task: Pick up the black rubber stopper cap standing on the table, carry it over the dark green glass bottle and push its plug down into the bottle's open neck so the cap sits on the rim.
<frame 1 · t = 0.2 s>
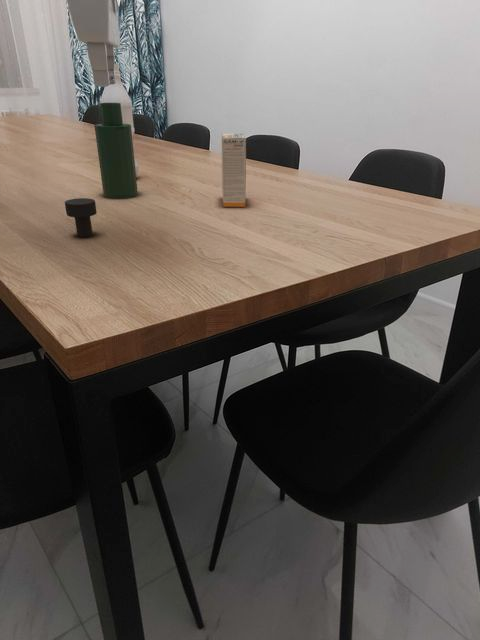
hand: (106, 85, 67), 22 cm above the table, tool pointing down, fingers open, 8 cm apart
supplement box: (234, 203, 105), on the table
stopper: (85, 235, 83), on the table
glass bottle: (120, 194, 109), on the table
water bottle: (124, 179, 126), on the table
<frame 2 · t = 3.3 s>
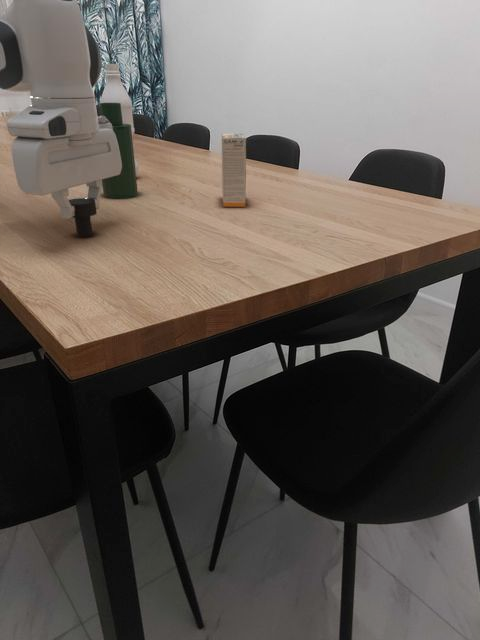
hand: (81, 213, 81), 4 cm above the table, tool pointing down, fingers closed on stopper, 4 cm apart
stopper: (85, 235, 83), on the table, touching gripper
everything else where it was.
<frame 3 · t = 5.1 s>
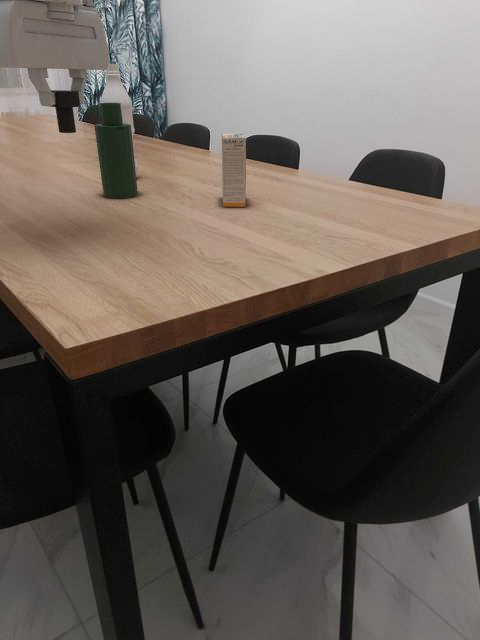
hand: (63, 105, 73), 19 cm above the table, tool pointing down, fingers closed on stopper, 4 cm apart
stopper: (67, 132, 75), point 16 cm above the table, touching gripper
everything else where it was.
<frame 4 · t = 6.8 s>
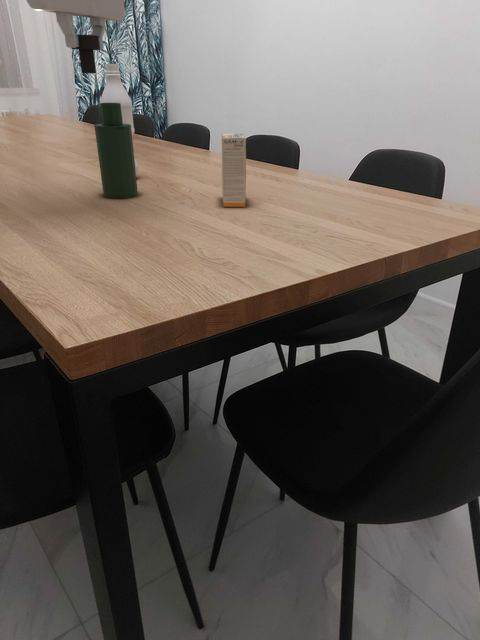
hand: (85, 48, 84), 27 cm above the table, tool pointing down, fingers closed on stopper, 4 cm apart
stopper: (88, 73, 86), point 23 cm above the table, touching gripper
everything else where it was.
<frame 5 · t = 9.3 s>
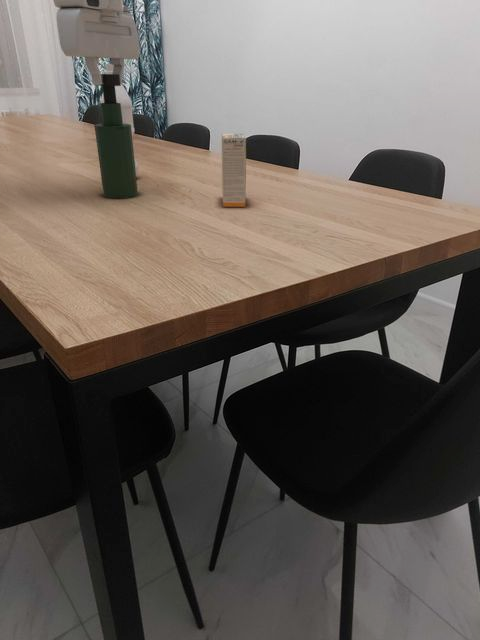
hand: (108, 85, 99), 21 cm above the table, tool pointing down, fingers closed on stopper, 4 cm apart
stopper: (110, 105, 101), point 18 cm above the table, touching gripper
everything else where it was.
when the fingers open (18 cm above the table, at t = 10.8 s): stopper stays where it is, resting on glass bottle.
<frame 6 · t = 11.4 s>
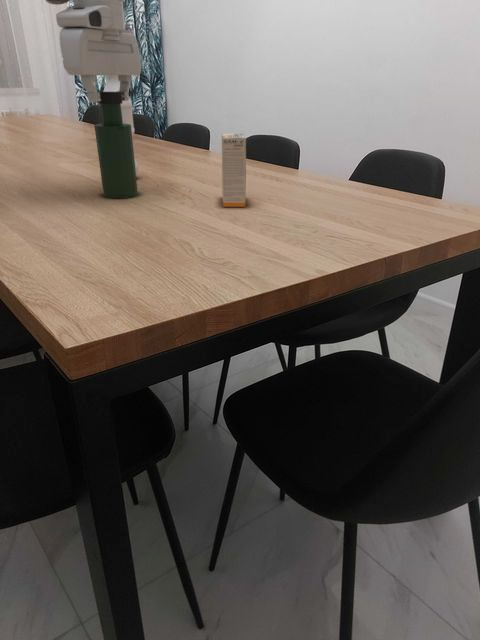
hand: (109, 101, 101), 18 cm above the table, tool pointing down, fingers open, 8 cm apart
stopper: (112, 122, 102), point 14 cm above the table, touching glass bottle
everything else where it was.
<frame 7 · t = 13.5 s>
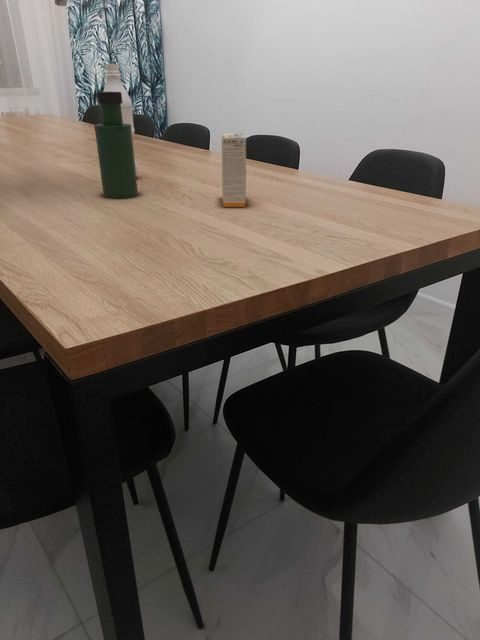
hand: (44, 2, 96), 35 cm above the table, tool pointing down, fingers open, 8 cm apart
nothing on the table moved.
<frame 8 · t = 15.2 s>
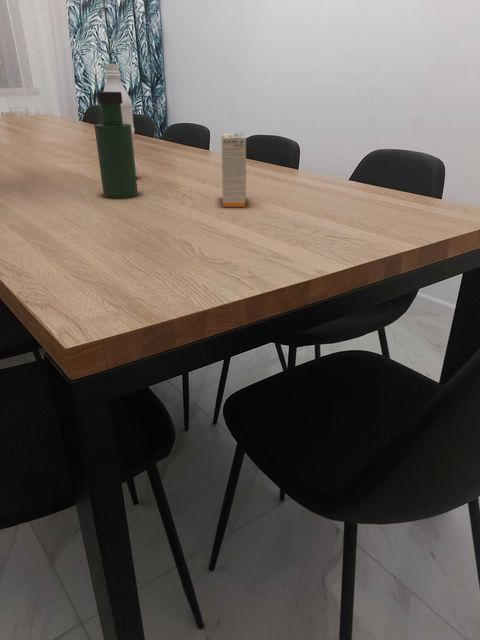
nothing on the table moved.
at the end: stopper 0.1 cm off-centre in the glass bottle, point 14.5 cm above the glass bottle's base; stopper tilted 0° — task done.
